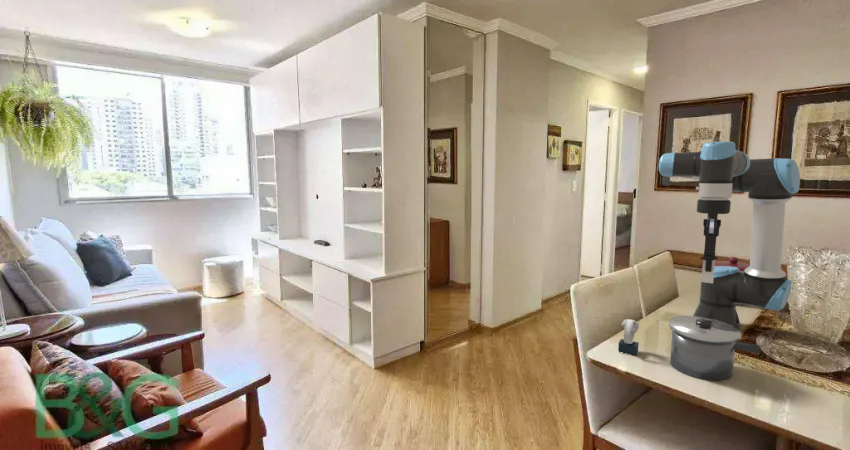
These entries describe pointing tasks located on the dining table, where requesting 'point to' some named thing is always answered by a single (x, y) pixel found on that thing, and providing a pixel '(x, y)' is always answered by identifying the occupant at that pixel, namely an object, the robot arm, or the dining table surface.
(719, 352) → the cooker pot
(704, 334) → the lid
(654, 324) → the dining table surface
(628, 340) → the watch
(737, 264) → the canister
